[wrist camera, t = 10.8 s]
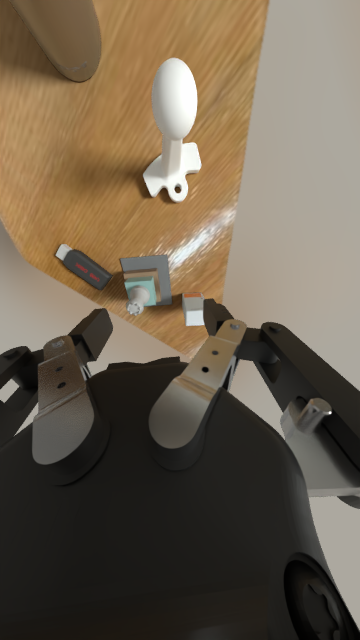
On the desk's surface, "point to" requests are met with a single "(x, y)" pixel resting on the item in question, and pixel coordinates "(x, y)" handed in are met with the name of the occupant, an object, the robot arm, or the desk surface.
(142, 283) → the teal block
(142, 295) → the rook chess piece
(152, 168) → the white ball-topped post
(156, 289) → the walnut block
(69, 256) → the usb drive
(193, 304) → the skincare box
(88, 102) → the desk surface
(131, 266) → the mat
